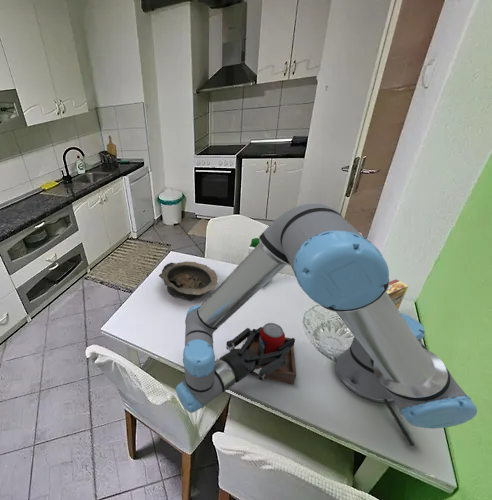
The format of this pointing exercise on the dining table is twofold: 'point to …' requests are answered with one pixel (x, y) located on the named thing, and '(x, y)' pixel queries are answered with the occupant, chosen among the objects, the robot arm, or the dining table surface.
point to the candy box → (397, 291)
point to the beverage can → (270, 338)
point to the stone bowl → (188, 279)
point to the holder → (284, 372)
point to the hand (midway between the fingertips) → (282, 333)
